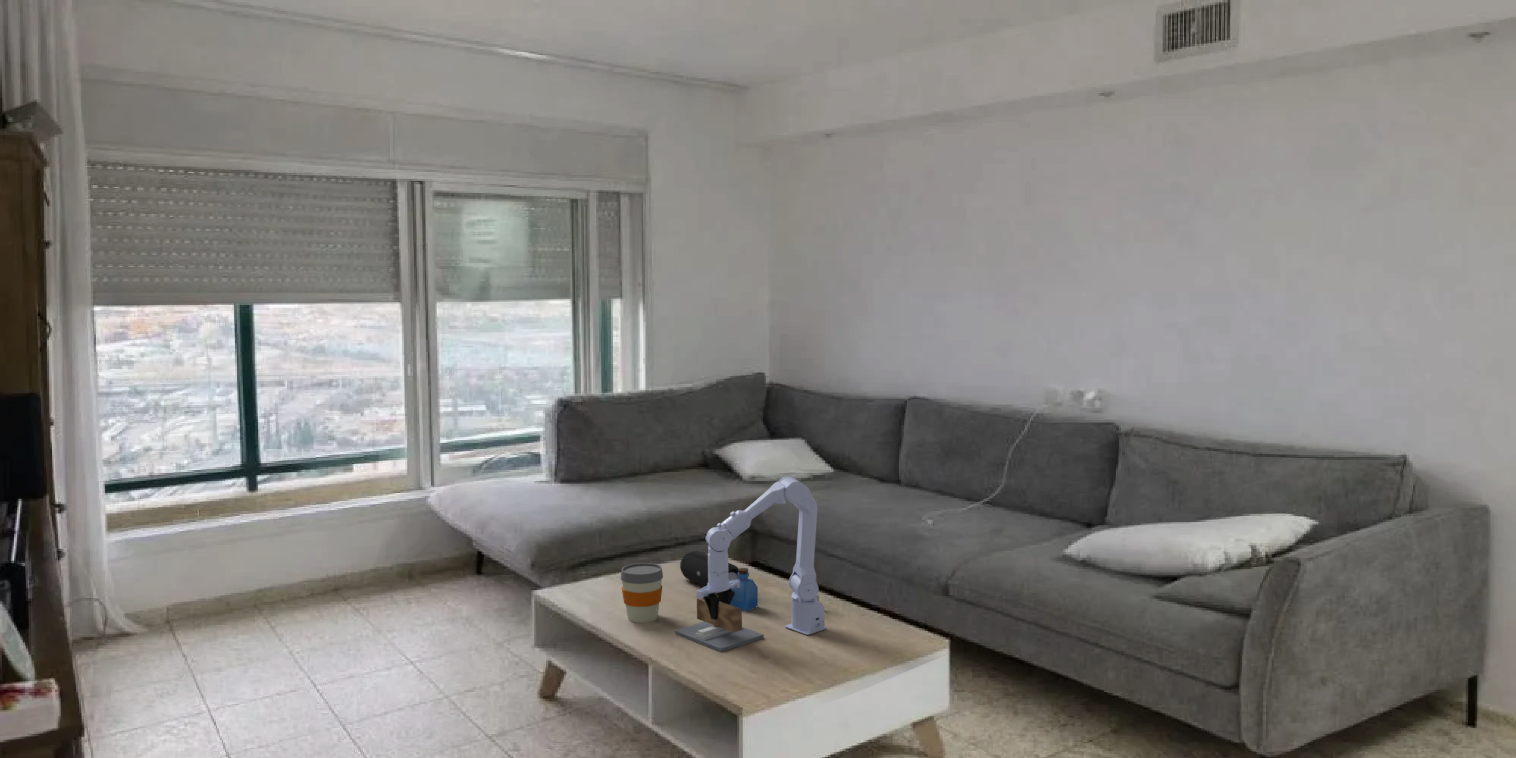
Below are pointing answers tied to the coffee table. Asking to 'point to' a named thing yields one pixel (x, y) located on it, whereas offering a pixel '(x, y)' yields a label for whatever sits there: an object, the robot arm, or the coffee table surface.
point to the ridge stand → (718, 636)
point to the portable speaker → (701, 568)
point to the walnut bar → (721, 615)
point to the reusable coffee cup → (642, 591)
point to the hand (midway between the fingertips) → (718, 617)
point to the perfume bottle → (745, 592)
